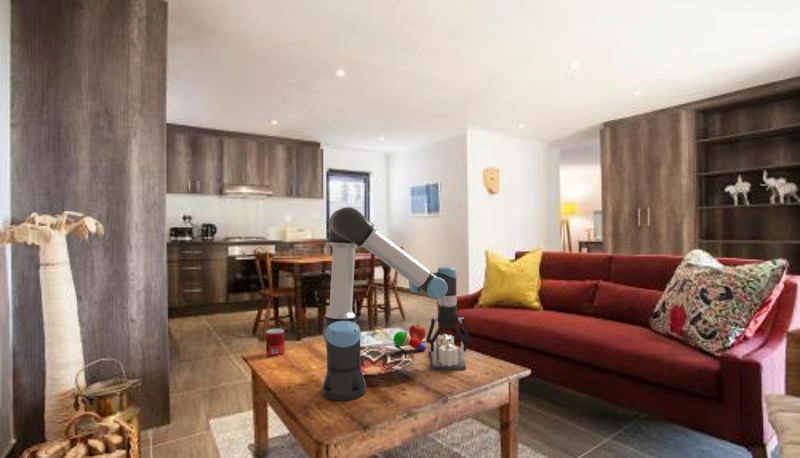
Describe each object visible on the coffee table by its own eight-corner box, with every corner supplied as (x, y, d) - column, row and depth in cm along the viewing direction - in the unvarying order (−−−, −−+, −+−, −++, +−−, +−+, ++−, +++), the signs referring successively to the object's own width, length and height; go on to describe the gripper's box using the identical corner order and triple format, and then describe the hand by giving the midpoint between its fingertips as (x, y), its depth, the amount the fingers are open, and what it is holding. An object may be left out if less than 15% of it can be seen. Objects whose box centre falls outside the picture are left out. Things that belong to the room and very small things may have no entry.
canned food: (288, 353, 186) (287, 329, 186) (274, 358, 180) (273, 333, 180) (276, 350, 190) (276, 327, 190) (262, 355, 184) (262, 331, 184)
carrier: (433, 369, 161) (432, 348, 161) (430, 350, 186) (430, 332, 186) (466, 369, 160) (465, 348, 160) (458, 350, 185) (458, 332, 185)
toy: (415, 355, 191) (388, 341, 188) (423, 339, 192) (396, 325, 189) (420, 360, 183) (392, 346, 180) (429, 344, 184) (401, 330, 181)
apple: (418, 338, 208) (418, 318, 208) (428, 341, 201) (428, 321, 201) (406, 341, 203) (405, 321, 203) (416, 344, 196) (415, 324, 196)
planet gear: (440, 366, 161) (439, 351, 161) (438, 359, 169) (438, 345, 169) (459, 365, 161) (459, 350, 161) (457, 359, 168) (457, 345, 168)
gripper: (419, 307, 161) (420, 362, 161) (477, 306, 161) (478, 362, 161) (419, 303, 169) (420, 356, 169) (474, 302, 168) (475, 356, 168)
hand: (448, 359), depth 165 cm, fingers open, 10 cm apart
